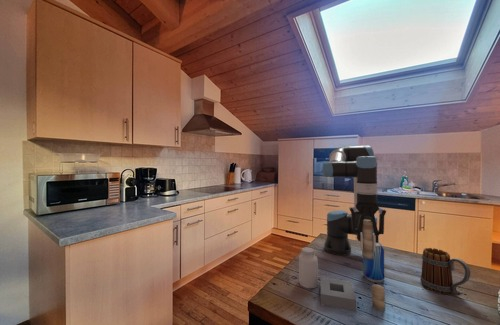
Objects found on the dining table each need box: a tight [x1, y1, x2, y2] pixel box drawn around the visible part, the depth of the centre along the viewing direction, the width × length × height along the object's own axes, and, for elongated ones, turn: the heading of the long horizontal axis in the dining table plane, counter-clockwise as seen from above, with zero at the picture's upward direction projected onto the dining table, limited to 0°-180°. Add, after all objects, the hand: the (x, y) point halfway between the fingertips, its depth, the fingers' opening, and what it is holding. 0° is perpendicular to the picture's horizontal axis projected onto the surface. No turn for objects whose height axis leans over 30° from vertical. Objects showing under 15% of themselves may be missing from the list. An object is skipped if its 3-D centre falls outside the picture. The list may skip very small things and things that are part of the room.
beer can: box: [362, 241, 385, 283], centre depth 95 cm, size 8×8×16 cm
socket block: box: [319, 276, 357, 312], centre depth 82 cm, size 12×12×4 cm
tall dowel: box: [361, 220, 373, 259], centre depth 87 cm, size 4×4×15 cm
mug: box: [420, 247, 471, 296], centre depth 85 cm, size 16×11×15 cm
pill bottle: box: [298, 246, 319, 289], centre depth 91 cm, size 8×8×15 cm
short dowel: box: [371, 284, 386, 312], centre depth 76 cm, size 4×4×7 cm
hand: (367, 249), depth 87 cm, fingers closed on tall dowel, 4 cm apart
